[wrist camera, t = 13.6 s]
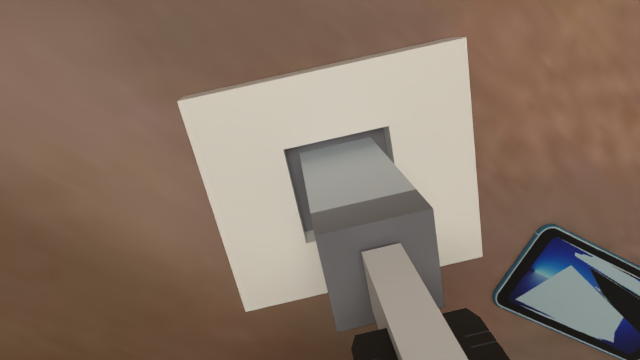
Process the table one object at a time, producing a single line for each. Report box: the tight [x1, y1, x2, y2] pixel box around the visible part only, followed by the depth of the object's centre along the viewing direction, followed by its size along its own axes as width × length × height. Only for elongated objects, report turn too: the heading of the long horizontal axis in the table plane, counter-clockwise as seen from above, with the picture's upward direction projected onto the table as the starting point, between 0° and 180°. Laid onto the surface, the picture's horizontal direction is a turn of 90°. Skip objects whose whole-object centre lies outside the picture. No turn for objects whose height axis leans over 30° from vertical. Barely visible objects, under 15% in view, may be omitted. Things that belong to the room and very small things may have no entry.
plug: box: [299, 137, 445, 332], centre depth 21 cm, size 4×4×11 cm
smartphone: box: [492, 224, 640, 360], centre depth 32 cm, size 7×1×15 cm
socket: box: [177, 37, 483, 312], centre depth 26 cm, size 16×14×2 cm
